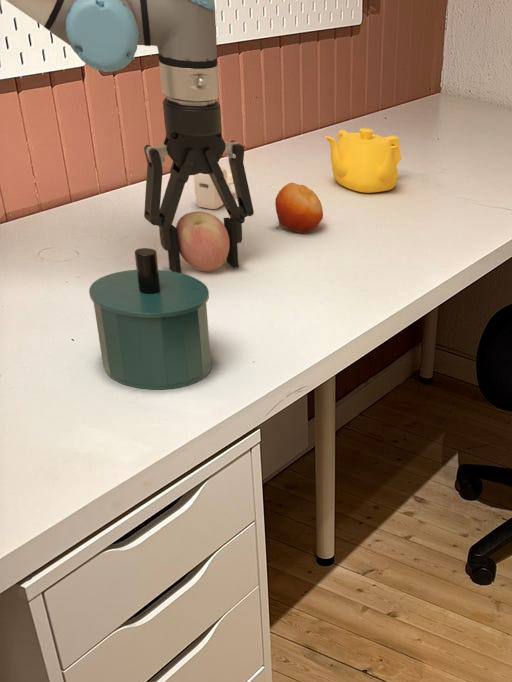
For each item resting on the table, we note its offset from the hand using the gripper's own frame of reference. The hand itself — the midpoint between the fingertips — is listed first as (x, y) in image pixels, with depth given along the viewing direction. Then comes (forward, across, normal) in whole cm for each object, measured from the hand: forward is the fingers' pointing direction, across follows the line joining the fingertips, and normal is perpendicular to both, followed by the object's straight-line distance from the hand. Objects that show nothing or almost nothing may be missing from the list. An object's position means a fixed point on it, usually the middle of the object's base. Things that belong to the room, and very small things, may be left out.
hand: (204, 267), depth 143 cm
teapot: (0, +45, +30) cm, 54 cm away
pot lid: (-9, -18, -28) cm, 34 cm away
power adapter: (0, +15, +29) cm, 33 cm away
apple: (0, 0, 0) cm, 0 cm away
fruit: (0, +22, +12) cm, 25 cm away
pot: (0, -18, -28) cm, 33 cm away
